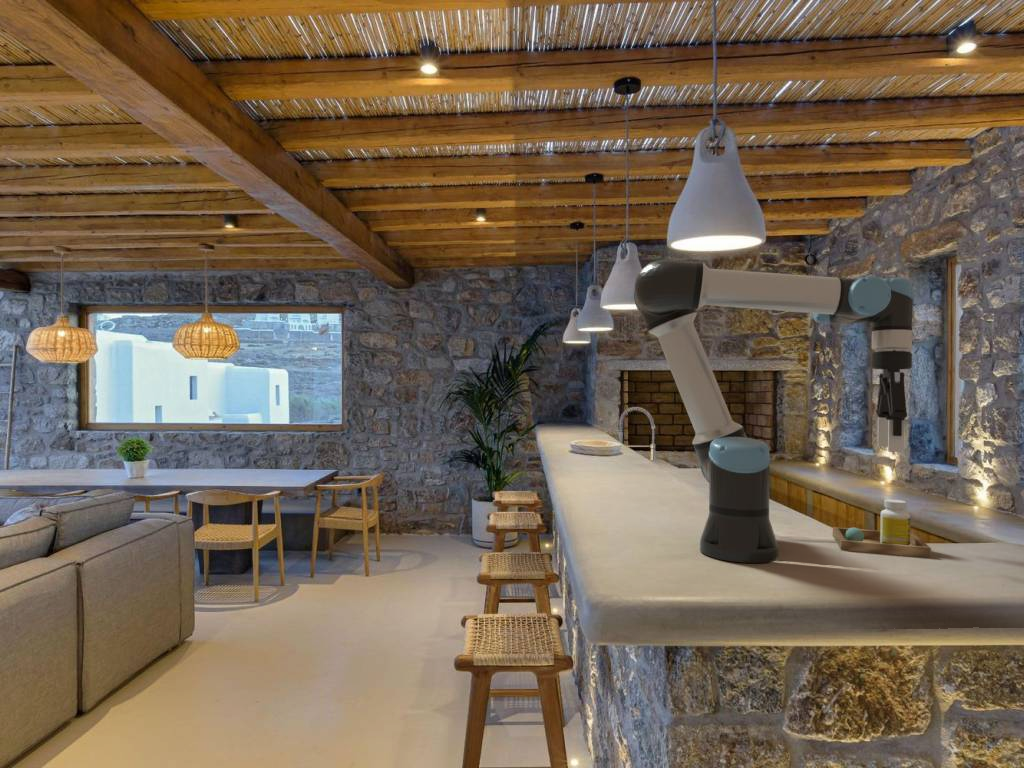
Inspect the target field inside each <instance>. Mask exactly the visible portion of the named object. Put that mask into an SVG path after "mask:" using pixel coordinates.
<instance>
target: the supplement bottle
mask: <svg viewBox="0 0 1024 768" xmlns="http://www.w3.org/2000/svg"><path fill="white" fill-rule="evenodd" d="M883 505H884V509H882V510H881V511H880V517H879V519H880V520H879V522H880V524H879V525H880V527H879V529H880V530H879V531H880V543H887V544H900V545H910V533H911V531H910V529H911V515H910V514H909V512H908V511H906V509H907V501H905V500H901V499H900V500H899V499H889V498H888V499H884V504H883Z"/></svg>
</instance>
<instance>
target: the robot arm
mask: <svg viewBox="0 0 1024 768" xmlns="http://www.w3.org/2000/svg"><path fill="white" fill-rule="evenodd" d="M633 300H634V304H635V307H636V309H637V310H638V311H639V313H640V316H641V317H642V321H644V325H645V327H646V330H647V332H648V334H650V335H653V336H655V337H656V338H657V339H658V343H659V345H660V347H661V349H662V353H663V354H664V356H665V360H666V362H667V365H668V367H669V370H670V372H671V375H672V377H673V379H674V382H675V384H676V387H677V389H678V390H677V391H678V392H679V394H680V397H681V401H682V402H683V405H684V407H685V409H686V412H687V415H688V417H689V420H690V422H691V424H692V428H693V429H694V433H695V435H694V437H693V439H692V442H691V443H692V446H693V448H694V451H695V454H696V456H697V459H698V461H699V465H700V470H701V473H702V475H703V477H704V479H705V480H706V482H708V483H709V487H708V488H709V489H708V490H709V491H708V492H709V493H708V494H709V497H708V500H709V501H708V503H709V509H708V510H709V512H708V516H707V519H706V522H705V526H704V528H703V531H702V534H701V536H700V540H699V542H700V543H699V551H700V552H701V553H702V554H704V555H705V556H708V557H710V558H714V559H718V560H720V561H721V560H722V561H727V562H733V563H735V562H736V563H747V564H748V563H749V564H750V563H751V564H756V563H757V564H761V563H769V562H773V561H776V560H777V559H776V558H778V556H779V545H778V542H777V539H776V535H775V533H774V529H773V527H772V523H771V520H770V469H771V468H770V467H771V466H770V464H771V455H770V447H769V446H768V444H767V443H766V442H764V441H762V440H760V439H757V438H756V439H753V438H750V437H747V434H746V432H745V429H744V427H743V425H741V424H740V423H738V422H735V421H734V420H733V418H732V416H731V413H730V411H729V409H728V405H727V404H726V401H725V399H724V397H723V394H722V391H721V389H720V386H719V384H718V382H717V379H716V376H715V374H714V372H713V368H712V366H711V364H710V362H709V359H708V357H707V354H706V351H705V348H704V347H703V344H702V341H701V339H700V337H699V334H698V331H697V329H696V326H695V323H694V321H695V319H696V317H697V314H698V312H697V311H696V310H700V309H701V308H702V307H704V306H713V307H714V306H715V307H725V308H726V307H727V308H741V309H742V308H743V309H754V310H766V311H767V310H768V311H781V312H792V313H805V314H812V317H813V320H814V321H815V322H816V323H818V324H828V325H833V324H835V325H837V324H841V325H842V324H871V325H872V326H871V350H873V351H874V352H872V353H871V368H872V369H873V370H882V373H879V376H878V378H879V380H878V382H879V383H878V384H879V385H878V394H877V404H876V411H875V412H876V415H877V444H876V445H877V447H880V448H881V447H882V448H883V447H885V448H886V447H887V452H890V453H905V449H904V448H905V419H906V418H907V416H908V413H907V403H906V401H907V400H906V392H905V389H906V388H905V372H903V371H902V372H901V371H900V370H910V369H911V368H912V366H913V353H912V352H911V351H910V350H912V348H913V340H915V339H916V336H915V334H913V317H914V315H913V312H914V302H915V301H914V300H915V299H914V289H913V282H912V281H911V280H910V279H908V278H903V277H892V278H881V277H879V276H874V275H870V276H861V277H858V278H851V277H850V278H849V277H836V276H835V277H833V276H823V275H821V276H820V275H819V276H818V275H807V274H806V275H805V274H793V273H792V274H790V273H776V272H764V271H763V272H762V271H751V270H750V271H749V270H736V269H735V270H734V269H733V270H732V269H723V268H722V269H719V268H710V267H708V266H707V264H705V263H704V262H694V261H693V262H692V261H684V260H683V261H682V260H674V259H658V260H655V261H651V262H650V263H648V264H647V265H645V266H644V267H643V268H642V269H641V270H640V271H639V273H638V274H637V276H636V278H635V281H634V292H633Z"/></svg>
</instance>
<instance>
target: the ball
mask: <svg viewBox="0 0 1024 768" xmlns="http://www.w3.org/2000/svg"><path fill="white" fill-rule="evenodd" d="M848 528H849V529H848V530H847V531H846V538H847V540H851V541H863V539H864V534H863V532H862V531H861V530H860V529H861V528H858V527H854V526H853V527H848Z"/></svg>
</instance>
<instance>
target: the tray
mask: <svg viewBox="0 0 1024 768" xmlns="http://www.w3.org/2000/svg"><path fill="white" fill-rule="evenodd" d="M849 528H850V527H834V526H832V537H833V539H834V540H835V543H837V546H838V548H839V549H840V551H844V552H845V551H846V552H847V551H849V552H859V553H872V554H880V555H893V556H894V555H896V556H903V557H904V556H905V557H917V558H927V559H932V547H930V545H928V544H927V543H925V542H924V541H923V540H922V539H921V538H920V537H919V536H918V535H916V534H915V532H912V533H911V532H910V545H900V544H887V543H880V530H875V529H873V530H872V529H862V528H859V529H860V530H861V531H862V532H863V534H864V539H863V541H851V540H847V538H846V531H847V530H848V529H849Z"/></svg>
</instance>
